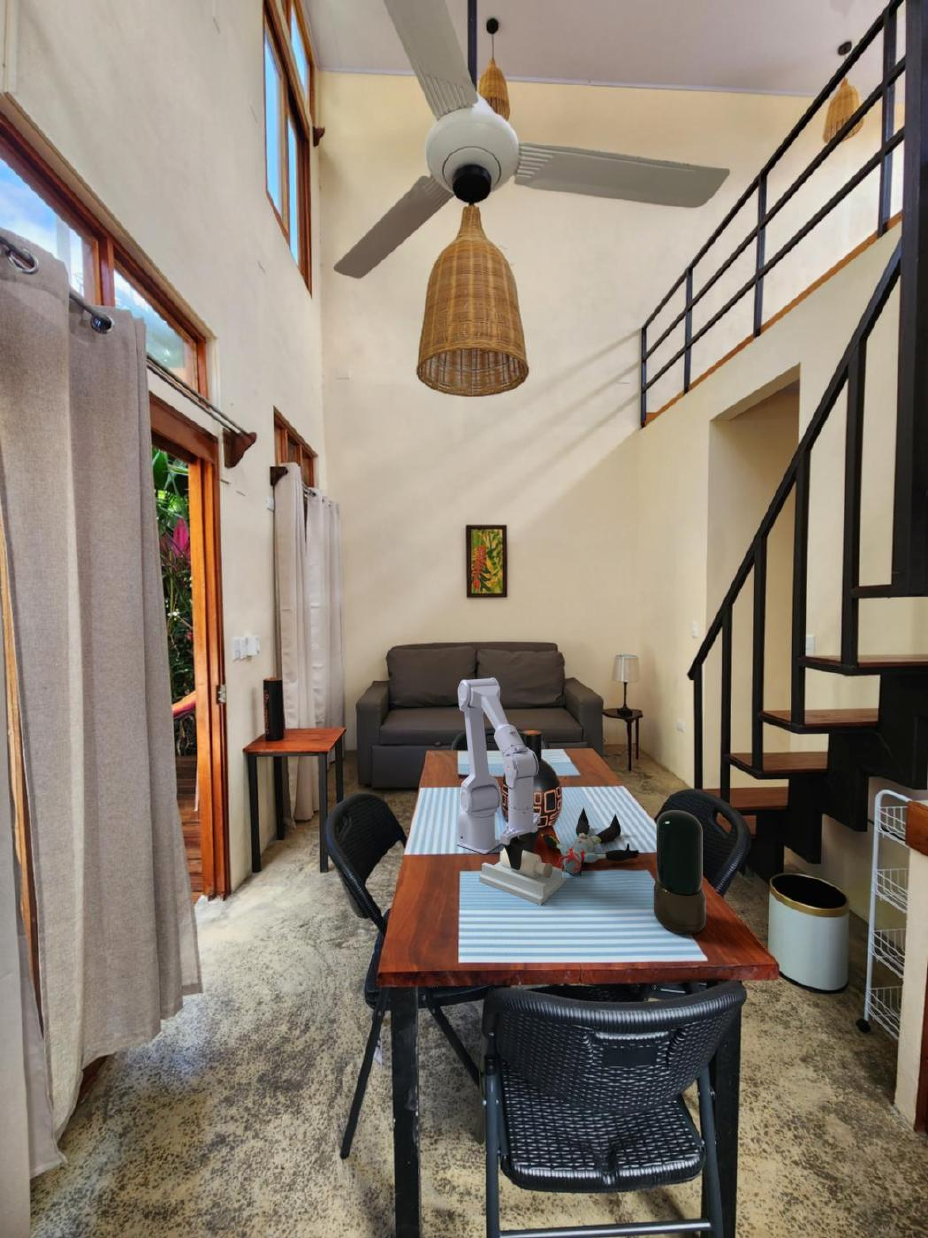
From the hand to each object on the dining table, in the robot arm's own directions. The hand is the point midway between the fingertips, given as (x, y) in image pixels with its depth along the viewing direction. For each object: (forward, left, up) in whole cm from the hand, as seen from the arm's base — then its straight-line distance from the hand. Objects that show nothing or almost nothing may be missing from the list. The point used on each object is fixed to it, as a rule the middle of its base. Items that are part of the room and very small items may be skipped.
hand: (521, 864), depth 118 cm
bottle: (+2, 0, -2) cm, 2 cm away
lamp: (+33, +5, -4) cm, 34 cm away
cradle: (0, 0, -4) cm, 4 cm away
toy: (+6, +21, -5) cm, 22 cm away
